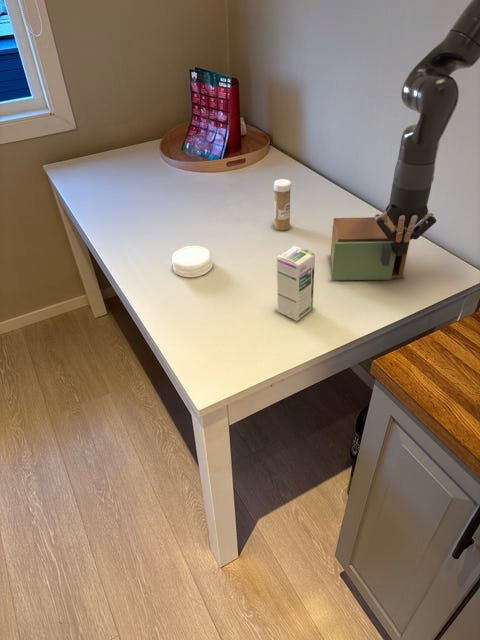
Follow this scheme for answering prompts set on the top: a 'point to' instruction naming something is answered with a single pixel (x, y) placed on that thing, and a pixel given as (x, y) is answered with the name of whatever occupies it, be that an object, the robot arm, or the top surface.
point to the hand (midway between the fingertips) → (398, 254)
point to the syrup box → (295, 282)
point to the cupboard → (364, 236)
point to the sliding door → (363, 260)
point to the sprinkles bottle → (282, 204)
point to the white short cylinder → (192, 261)
